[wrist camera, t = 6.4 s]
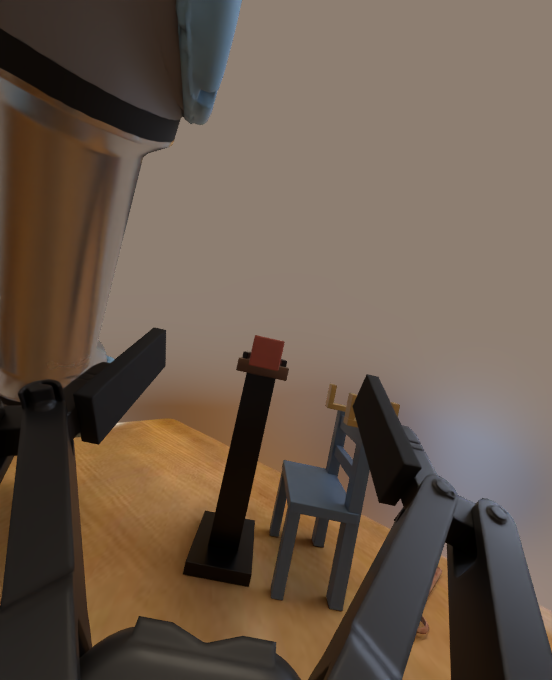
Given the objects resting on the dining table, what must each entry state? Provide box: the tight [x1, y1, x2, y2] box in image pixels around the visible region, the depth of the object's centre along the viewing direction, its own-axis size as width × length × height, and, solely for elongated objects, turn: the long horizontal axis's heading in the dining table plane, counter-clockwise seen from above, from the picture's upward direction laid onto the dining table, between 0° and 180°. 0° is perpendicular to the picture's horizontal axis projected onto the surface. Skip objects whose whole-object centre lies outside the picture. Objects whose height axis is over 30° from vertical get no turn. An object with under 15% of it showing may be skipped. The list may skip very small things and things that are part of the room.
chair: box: [270, 384, 400, 611], centre depth 37 cm, size 12×11×25 cm
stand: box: [183, 352, 289, 587], centre depth 37 cm, size 14×8×27 cm, turn 2°
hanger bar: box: [249, 335, 284, 371], centre depth 32 cm, size 24×3×3 cm, turn 2°
